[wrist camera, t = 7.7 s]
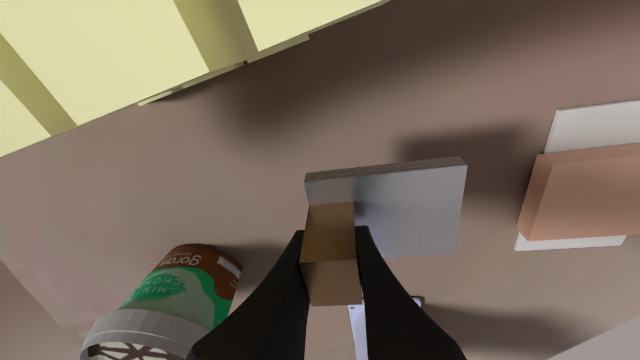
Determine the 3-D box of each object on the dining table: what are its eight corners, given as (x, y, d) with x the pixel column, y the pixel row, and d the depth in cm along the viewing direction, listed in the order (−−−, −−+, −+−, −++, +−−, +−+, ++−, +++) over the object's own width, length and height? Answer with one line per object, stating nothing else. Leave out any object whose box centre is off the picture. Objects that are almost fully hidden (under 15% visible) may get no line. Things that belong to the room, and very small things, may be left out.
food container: (223, 222, 24) (160, 326, 16) (254, 264, 27) (214, 371, 19) (130, 249, 28) (34, 349, 19) (166, 284, 30) (97, 385, 22)
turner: (323, 249, 17) (317, 324, 13) (306, 172, 14) (291, 236, 10) (448, 241, 16) (488, 320, 12) (459, 156, 13) (517, 219, 9)
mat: (617, 242, 22) (621, 245, 22) (514, 248, 23) (516, 251, 23) (705, 90, 16) (712, 91, 15) (556, 109, 17) (560, 111, 17)
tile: (515, 226, 22) (622, 219, 21) (527, 241, 20) (644, 233, 19) (536, 153, 18) (667, 139, 17) (553, 164, 17) (698, 149, 16)
